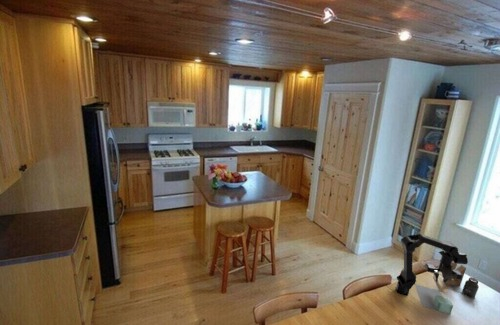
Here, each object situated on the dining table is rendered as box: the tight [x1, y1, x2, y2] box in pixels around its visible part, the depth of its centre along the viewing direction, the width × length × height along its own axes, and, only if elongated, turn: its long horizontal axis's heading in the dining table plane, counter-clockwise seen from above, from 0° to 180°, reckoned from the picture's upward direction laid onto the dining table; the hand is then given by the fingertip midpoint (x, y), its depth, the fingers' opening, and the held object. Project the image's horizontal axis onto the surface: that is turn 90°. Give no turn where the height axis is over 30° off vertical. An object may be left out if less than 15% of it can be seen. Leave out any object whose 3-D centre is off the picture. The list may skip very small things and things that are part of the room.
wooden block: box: [445, 261, 467, 286], centre depth 182 cm, size 4×11×18 cm, turn 97°
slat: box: [432, 273, 449, 294], centre depth 168 cm, size 4×14×4 cm, turn 161°
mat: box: [413, 283, 444, 311], centre depth 169 cm, size 15×21×1 cm
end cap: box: [434, 295, 454, 315], centre depth 160 cm, size 7×6×6 cm
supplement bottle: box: [461, 276, 480, 299], centre depth 173 cm, size 7×7×12 cm
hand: (439, 282), depth 168 cm, fingers closed on slat, 3 cm apart
